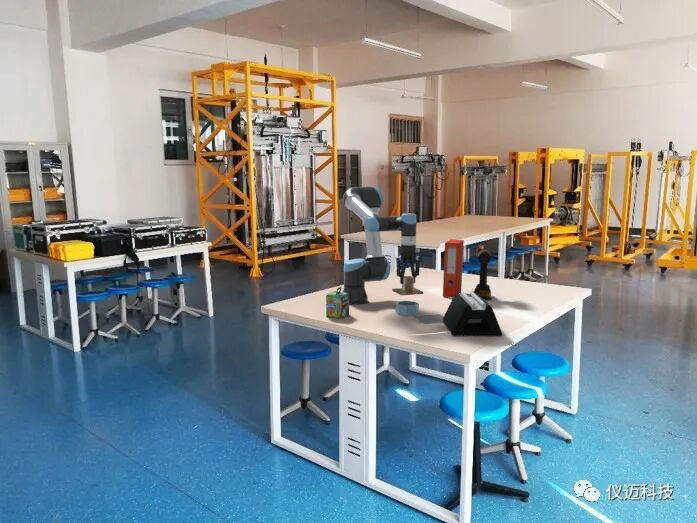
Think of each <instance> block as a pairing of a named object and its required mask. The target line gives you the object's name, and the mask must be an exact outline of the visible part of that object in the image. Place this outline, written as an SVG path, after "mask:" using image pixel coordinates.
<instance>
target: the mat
mask: <svg viewBox="0 0 697 523" xmlns="http://www.w3.org/2000/svg"><path fill="white" fill-rule="evenodd" d="M411 316H412V318H414V319H416V320H418V321H420V323H423V324H424V325H431V324H440V323H441V324H442V323H443V324H445V323H444V322H443V320H442V319H443V317H444V315H441V314H440V313H438V314H423V315H411Z"/></svg>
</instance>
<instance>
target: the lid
mask: <svg viewBox="0 0 697 523" xmlns="http://www.w3.org/2000/svg"><path fill="white" fill-rule="evenodd" d="M404 278H405V291H403V290H402V287H399V288H391V289H392V290H391V291H392V292H394V293H396V294H398V295H400V296H411V295H413V296H414V295H423V294H424V291H423V290H420V289H418V288H416V287H414V290H413V277H412V275H411V276H410V275H404Z"/></svg>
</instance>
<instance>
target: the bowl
mask: <svg viewBox="0 0 697 523" xmlns="http://www.w3.org/2000/svg"><path fill="white" fill-rule="evenodd" d="M419 310H420V303H419V302H416V301H414V300H400V301H397V302H395V313H396V314H397V315H400V316H417V315H418V314H419V312H420V311H419Z"/></svg>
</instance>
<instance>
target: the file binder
mask: <svg viewBox="0 0 697 523" xmlns="http://www.w3.org/2000/svg"><path fill="white" fill-rule="evenodd" d="M464 241H465V240H464V239H452V238H451V239H449V240H447V241H446V242H444V257H443V260H444V261H443V282H442V283H443V284H442V288H443V289H442V297H443V296H444V297H443V298H448V297H454V295H455V294H459V293H460V292H461V291H462V285H463V284H462V283H463V282H462V280H463V266H464V265H463V263H464V261H463V260H464V245H465V244H464ZM460 294H461V293H460ZM460 294H459V295H460Z"/></svg>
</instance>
